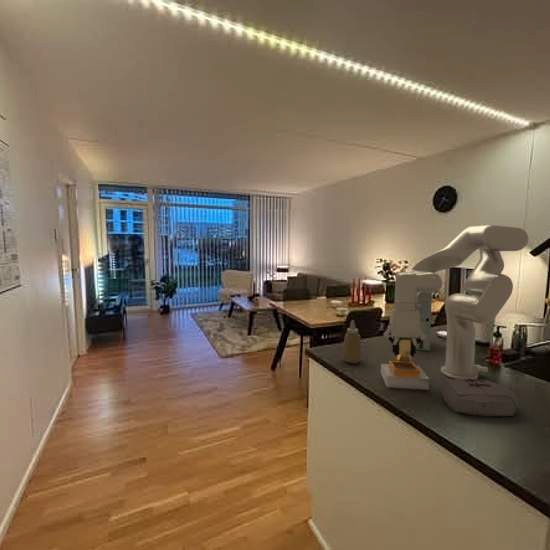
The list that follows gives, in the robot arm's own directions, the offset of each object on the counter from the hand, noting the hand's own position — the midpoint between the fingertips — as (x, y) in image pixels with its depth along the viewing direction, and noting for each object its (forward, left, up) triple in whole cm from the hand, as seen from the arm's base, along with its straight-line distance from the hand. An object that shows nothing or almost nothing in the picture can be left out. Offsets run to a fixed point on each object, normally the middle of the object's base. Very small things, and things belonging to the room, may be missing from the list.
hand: (403, 354), depth 113 cm
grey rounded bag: (-19, +15, -11) cm, 27 cm away
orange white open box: (0, 0, -10) cm, 10 cm away
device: (-18, -46, -11) cm, 51 cm away
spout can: (0, 0, -2) cm, 2 cm away
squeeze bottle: (+17, -18, -10) cm, 27 cm away
